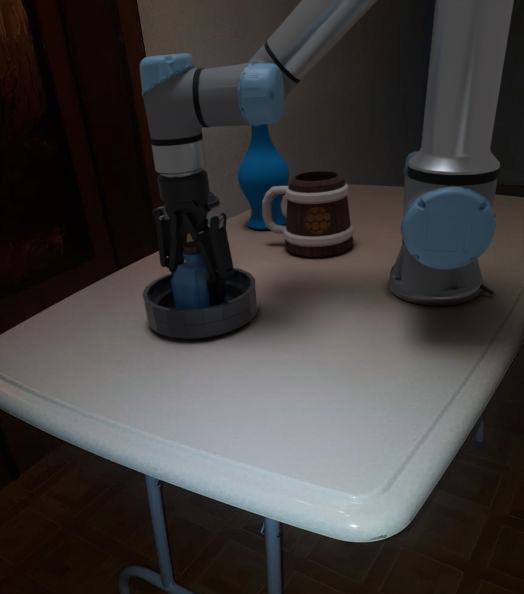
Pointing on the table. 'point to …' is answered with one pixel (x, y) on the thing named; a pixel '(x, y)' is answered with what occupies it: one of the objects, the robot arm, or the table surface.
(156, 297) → the bowl
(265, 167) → the vase
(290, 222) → the mug
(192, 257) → the perfume bottle
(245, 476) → the table surface
